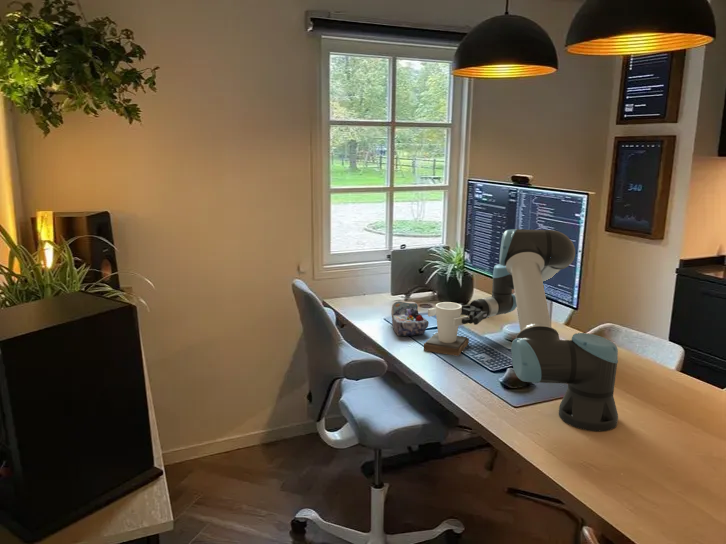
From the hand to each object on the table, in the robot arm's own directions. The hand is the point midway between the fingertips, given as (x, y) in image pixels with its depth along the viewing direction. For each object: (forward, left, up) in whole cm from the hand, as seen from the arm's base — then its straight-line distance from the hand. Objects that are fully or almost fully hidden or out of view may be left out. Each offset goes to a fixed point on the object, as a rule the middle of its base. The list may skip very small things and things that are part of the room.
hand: (440, 317), depth 207 cm
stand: (+3, -2, -12) cm, 12 cm away
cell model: (+14, +19, -12) cm, 27 cm away
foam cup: (+3, -2, -9) cm, 10 cm away
